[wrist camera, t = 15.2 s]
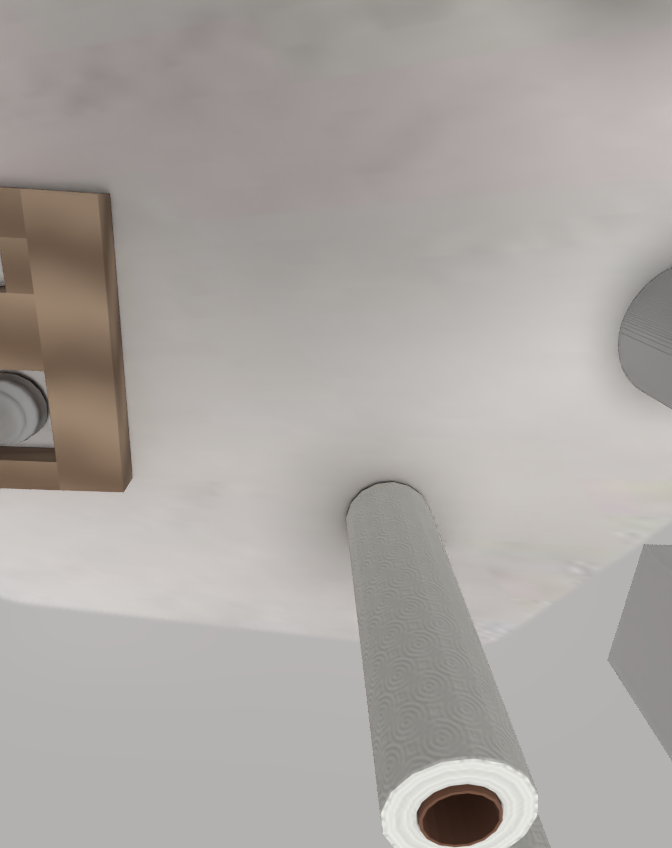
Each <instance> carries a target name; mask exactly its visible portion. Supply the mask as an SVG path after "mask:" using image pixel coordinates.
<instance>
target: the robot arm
mask: <svg viewBox="0 0 672 848" xmlns="http://www.w3.org/2000/svg"><path fill="white" fill-rule="evenodd" d="M608 661H609V663H610V664H611V666H612V668H613V669H614V671H615V672H616V674H617V675H618V677H619V679H620V680H621V682H622V683H623V685H624V686H625V688H626V690H627V691H628V693H629V694H630V695H631V697H632V699H633V700H634V702H635V704H636V705H637V706H638V708H639V710H640V711H641V713H642V714H643V716H644V717H645V719H646V721H647V722H648V724H649V726H650V727H651V729H652V730H653V732H654V733H655V735H656V736H657V738H658V740H659V741H660V743H661V744H662V746H663V747H664V749H665V750H666V752H667V754H668V755H669V757H670V758H671V760H672V545H649V544H644V546H643V549H642V552H641V555H640V558H639V561H638V565H637V568H636V571H635V574H634V577H633V581H632V584H631V587H630V590H629V593H628V597H627V600H626V603H625V606H624V609H623V612H622V616H621V619H620V622H619V625H618V628H617V632H616V635H615V638H614V641H613V644H612V647H611V650H610V654H609V657H608Z"/></svg>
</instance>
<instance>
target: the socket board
mask: <svg viewBox="0 0 672 848" xmlns="http://www.w3.org/2000/svg"><path fill="white" fill-rule="evenodd" d="M0 253H1V260H2V266H3V273H4V280H5V286H0V369H10V370H31V371H44V372H45V380H46V387H47V395H48V402H49V410H50V417H51V425H52V432H53V440H54V447H55V448H30V447H3V446H0V488H11V489H42V490H72V491H102V492H124V491H125V489H126V488H127V486H128V484H129V483H130V481H131V479H132V467H131V454H130V441H129V429H128V416H127V403H126V391H125V378H124V366H123V353H122V340H121V328H120V315H119V302H118V290H117V277H116V265H115V252H114V239H113V227H112V214H111V201H110V194H104V193H89V192H74V191H59V190H44V189H29V188H14V187H0Z"/></svg>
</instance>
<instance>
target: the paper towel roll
mask: <svg viewBox="0 0 672 848" xmlns="http://www.w3.org/2000/svg"><path fill="white" fill-rule="evenodd" d="M346 523H347V532H348V540H349V549H350V558H351V566H352V575H353V584H354V592H355V601H356V610H357V618H358V627H359V635H360V644H361V653H362V661H363V670H364V677H365V678H364V679H365V687H366V696H367V704H368V713H369V722H370V730H371V739H372V747H373V756H374V764H375V774H376V782H377V791H378V798H379V807H380V817H381V825H382V832H383V834H384V835H385V836H386V838H387V839H388V840H389V842H390V843H391V844H392V845H393V847H394V848H551V847H550V845H549V842H548V839H547V837H546V834H545V831H544V829H543V826H542V823H541V820H540V818H539V815H538V812H537V807H538V806H537V805H538V792H537V789H536V787H535V784H534V781H533V779H532V776H531V774H530V771H529V768H528V766H527V763H526V760H525V758H524V755H523V753H522V750H521V747H520V745H519V742H518V740H517V737H516V734H515V732H514V729H513V726H512V724H511V721H510V719H509V716H508V713H507V711H506V708H505V705H504V703H503V700H502V698H501V695H500V693H499V690H498V687H497V685H496V682H495V680H494V677H493V674H492V672H491V669H490V666H489V664H488V661H487V658H486V656H485V653H484V651H483V648H482V645H481V643H480V640H479V637H478V635H477V632H476V630H475V627H474V624H473V622H472V619H471V616H470V614H469V611H468V609H467V606H466V603H465V601H464V598H463V596H462V593H461V590H460V588H459V585H458V582H457V580H456V577H455V575H454V572H453V569H452V567H451V564H450V562H449V559H448V556H447V554H446V551H445V548H444V546H443V543H442V541H441V538H440V535H439V533H438V530H437V527H436V525H435V522H434V520H433V517H432V514H431V512H430V509H429V507H428V505H427V504H426V502H425V500H424V498H423V496H422V495H420V494H419V493H418V492H416V491H415V490H414V489H412V488H411V487H409V486H407V485H403V484H399V483H395V482H389V483H380V484H375V485H373V486H371V487H369V488H367V489H365V490H363V491H362V492H361V493H360V494H359V495H358V496H357V497H356V498H355V499H354V500H353V502H352V503H351V505H350V508H349V511H348V513H347V516H346Z"/></svg>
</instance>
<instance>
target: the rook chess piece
mask: <svg viewBox="0 0 672 848" xmlns="http://www.w3.org/2000/svg"><path fill="white" fill-rule="evenodd" d="M46 418H47V404H46V402H45V400H44V398H43V396H42V394H41V392H40V390H39V389H37V388H36V387H35V386H34V385H33V384H32V383H31V382H30V381H29V380H27V379H24V378H22V377H20V376H18V375H16V374H8V373H0V444H13V443H17V442H21V441H24V440H27V439H28V438H29V437H31V436H32V435H34V434H35V433H37V432H38V431H39V430H40V429H41V428H43V426H44V423H45V421H46Z"/></svg>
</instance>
